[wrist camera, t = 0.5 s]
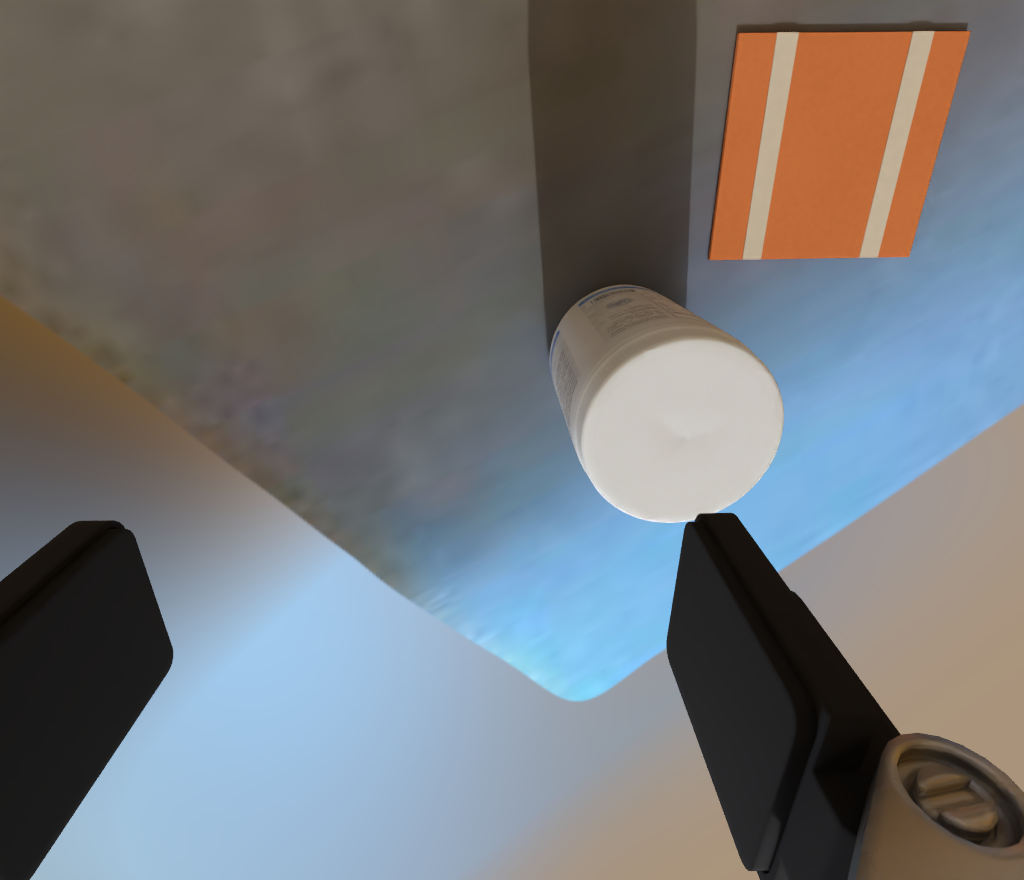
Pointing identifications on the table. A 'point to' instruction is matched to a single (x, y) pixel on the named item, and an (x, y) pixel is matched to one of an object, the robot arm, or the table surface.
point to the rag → (831, 142)
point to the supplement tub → (663, 404)
